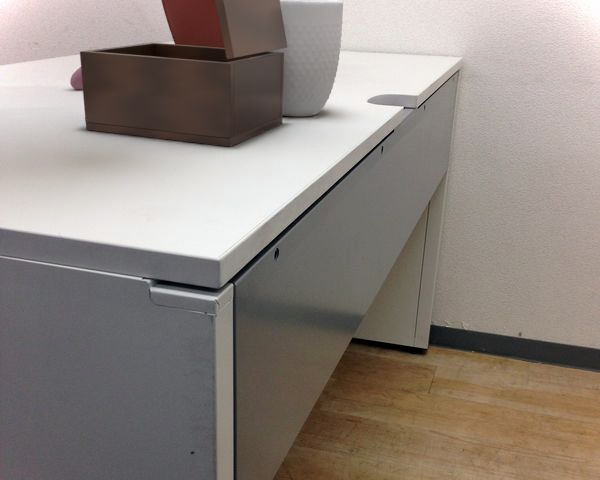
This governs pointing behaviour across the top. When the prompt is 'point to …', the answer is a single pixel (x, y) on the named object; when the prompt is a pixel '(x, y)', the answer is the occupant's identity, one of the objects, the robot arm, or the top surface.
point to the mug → (310, 53)
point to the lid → (251, 26)
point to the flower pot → (194, 22)
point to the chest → (182, 92)
